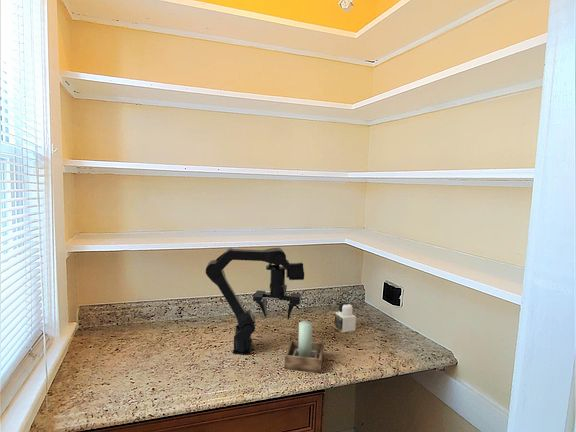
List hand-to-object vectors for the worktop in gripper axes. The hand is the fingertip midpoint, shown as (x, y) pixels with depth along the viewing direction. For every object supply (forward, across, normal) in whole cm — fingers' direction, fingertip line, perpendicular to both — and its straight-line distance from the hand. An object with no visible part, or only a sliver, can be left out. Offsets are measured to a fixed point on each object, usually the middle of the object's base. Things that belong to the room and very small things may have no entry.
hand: (277, 318), depth 140 cm
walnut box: (+13, -12, +8) cm, 20 cm away
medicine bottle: (+13, -27, -26) cm, 40 cm away
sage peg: (+12, -12, +7) cm, 19 cm away
